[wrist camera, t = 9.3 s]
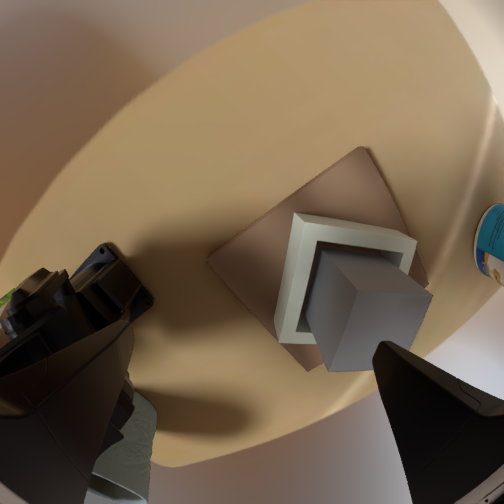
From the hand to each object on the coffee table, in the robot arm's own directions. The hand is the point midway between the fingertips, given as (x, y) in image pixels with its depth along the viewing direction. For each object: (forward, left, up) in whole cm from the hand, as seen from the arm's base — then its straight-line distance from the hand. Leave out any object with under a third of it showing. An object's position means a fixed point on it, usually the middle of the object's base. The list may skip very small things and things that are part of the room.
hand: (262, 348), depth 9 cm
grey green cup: (-24, -7, -12) cm, 28 cm away
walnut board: (+4, -6, -12) cm, 14 cm away
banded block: (+4, -6, -11) cm, 13 cm away
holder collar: (+4, -6, -12) cm, 14 cm away
